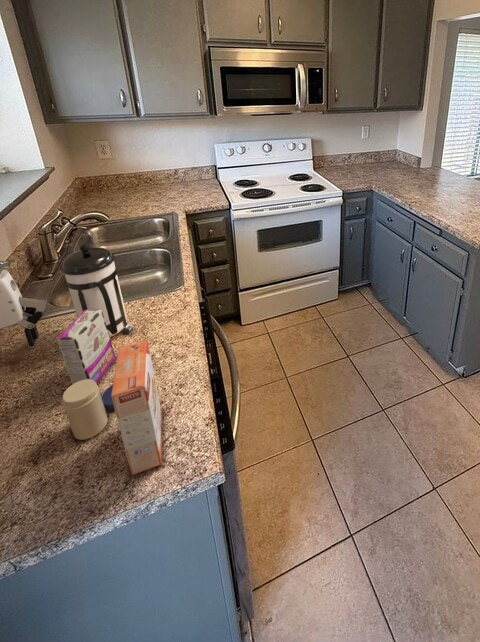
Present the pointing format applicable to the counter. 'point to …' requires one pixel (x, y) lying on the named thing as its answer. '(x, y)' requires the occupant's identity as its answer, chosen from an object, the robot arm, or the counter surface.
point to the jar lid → (108, 399)
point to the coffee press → (96, 286)
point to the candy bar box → (86, 347)
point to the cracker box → (138, 406)
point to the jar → (85, 409)
